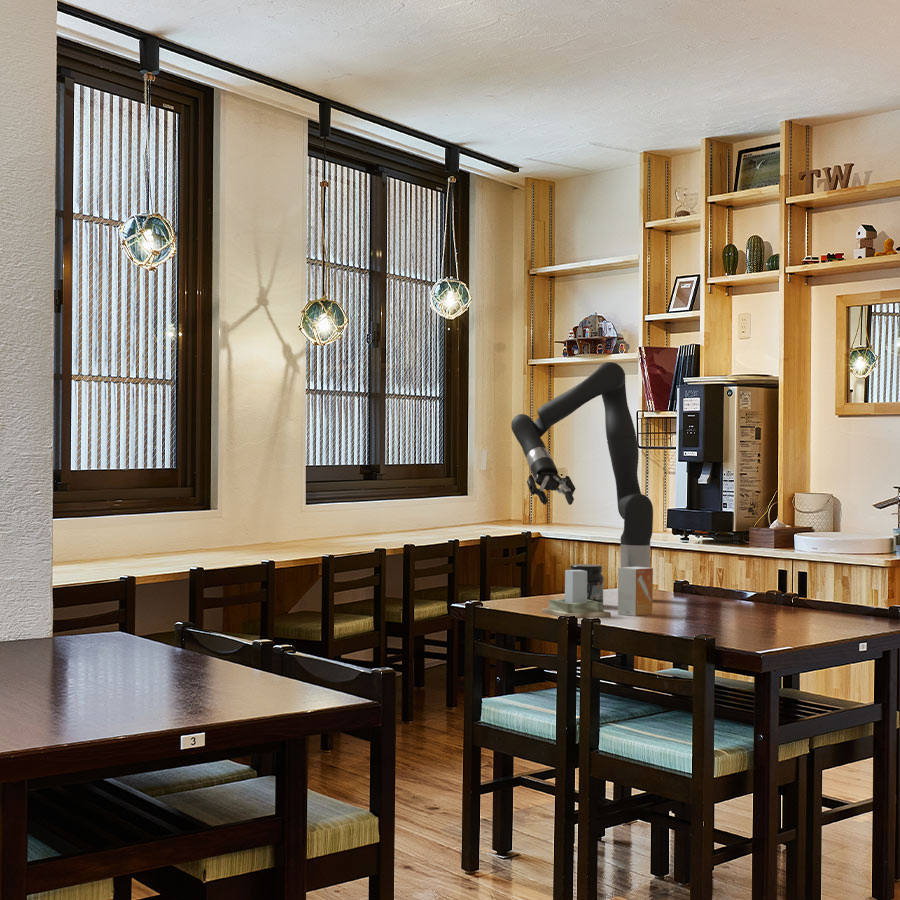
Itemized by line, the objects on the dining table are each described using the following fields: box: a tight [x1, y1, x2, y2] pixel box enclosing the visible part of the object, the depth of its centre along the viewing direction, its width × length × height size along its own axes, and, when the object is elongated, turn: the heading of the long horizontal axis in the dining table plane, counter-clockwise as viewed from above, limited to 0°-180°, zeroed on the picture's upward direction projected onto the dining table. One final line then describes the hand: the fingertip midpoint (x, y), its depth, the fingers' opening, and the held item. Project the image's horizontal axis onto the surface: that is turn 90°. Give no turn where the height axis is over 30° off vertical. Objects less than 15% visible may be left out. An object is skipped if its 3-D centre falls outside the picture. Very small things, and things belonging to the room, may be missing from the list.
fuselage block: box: [564, 569, 587, 603], centre depth 303 cm, size 4×4×11 cm
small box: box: [617, 567, 654, 617], centre depth 304 cm, size 8×6×13 cm
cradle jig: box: [541, 598, 612, 618], centre depth 303 cm, size 14×14×4 cm
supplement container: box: [569, 563, 605, 604], centre depth 324 cm, size 10×10×12 cm
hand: (558, 502), depth 327 cm, fingers open, 8 cm apart
